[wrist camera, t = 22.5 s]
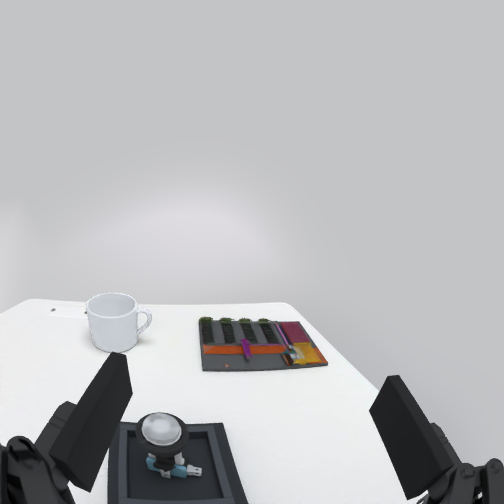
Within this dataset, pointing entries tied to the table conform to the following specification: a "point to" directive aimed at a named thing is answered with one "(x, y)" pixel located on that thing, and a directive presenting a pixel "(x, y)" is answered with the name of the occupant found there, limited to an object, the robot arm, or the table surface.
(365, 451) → the table surface
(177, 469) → the push button
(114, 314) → the mug
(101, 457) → the robot arm
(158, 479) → the docking pad
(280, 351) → the circuit board
